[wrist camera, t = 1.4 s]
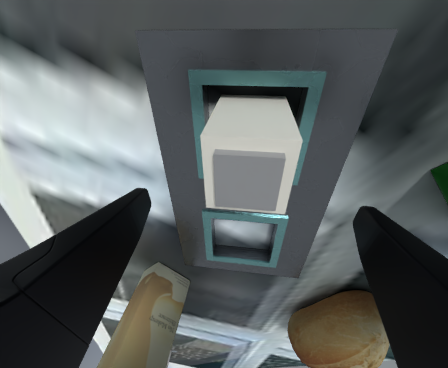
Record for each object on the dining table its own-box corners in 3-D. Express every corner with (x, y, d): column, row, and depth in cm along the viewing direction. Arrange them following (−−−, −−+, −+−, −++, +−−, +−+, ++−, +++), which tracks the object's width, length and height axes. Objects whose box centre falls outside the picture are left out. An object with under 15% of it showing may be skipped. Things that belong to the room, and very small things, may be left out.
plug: (285, 96, 14) (304, 145, 9) (276, 153, 17) (285, 220, 11) (221, 94, 15) (198, 140, 9) (222, 150, 18) (204, 213, 12)
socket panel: (384, 28, 12) (400, 29, 10) (296, 266, 26) (298, 279, 25) (146, 30, 13) (133, 30, 12) (188, 254, 28) (184, 266, 26)
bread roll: (268, 308, 34) (270, 372, 28) (342, 271, 26) (370, 351, 20) (313, 327, 36) (325, 390, 30) (396, 298, 28) (436, 378, 22)
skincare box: (191, 280, 32) (163, 391, 22) (176, 287, 34) (143, 392, 24) (156, 259, 30) (107, 373, 20) (142, 269, 32) (91, 376, 22)
